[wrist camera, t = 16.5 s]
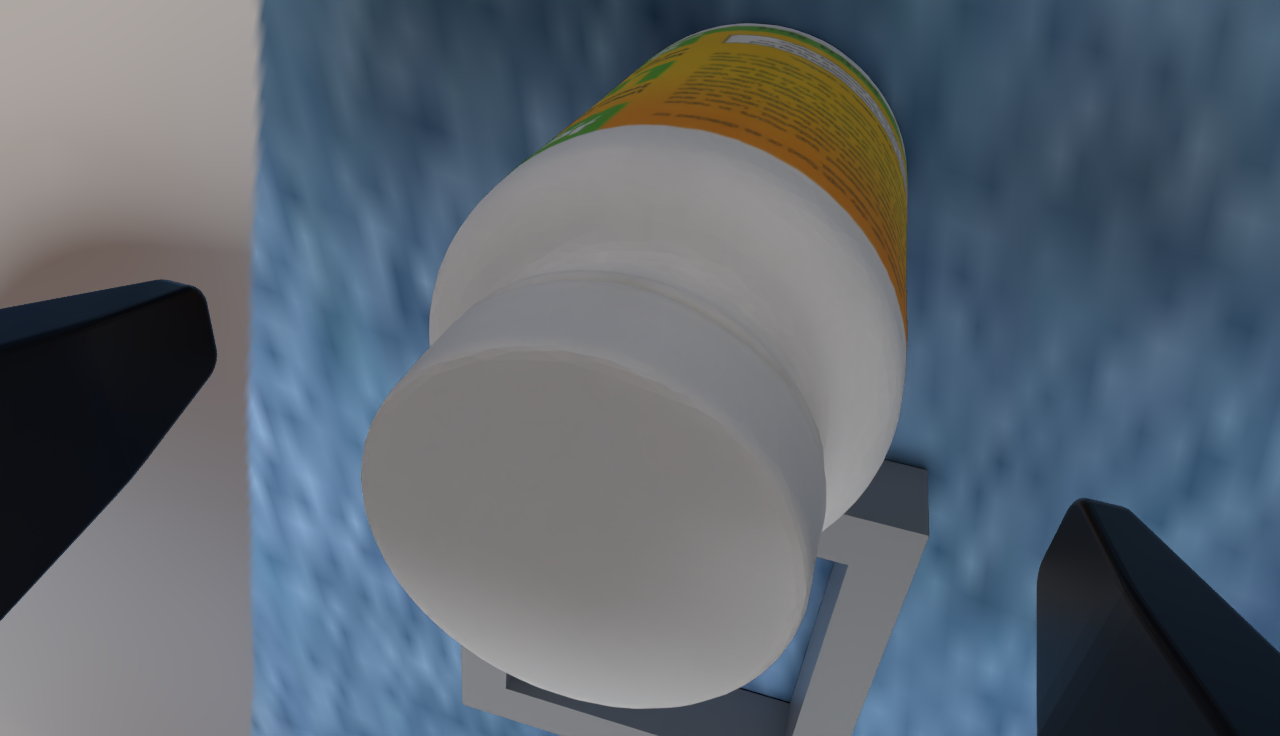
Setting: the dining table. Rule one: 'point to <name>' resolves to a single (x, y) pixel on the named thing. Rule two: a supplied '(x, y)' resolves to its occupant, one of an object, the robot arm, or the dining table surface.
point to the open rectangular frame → (834, 661)
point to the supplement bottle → (656, 376)
